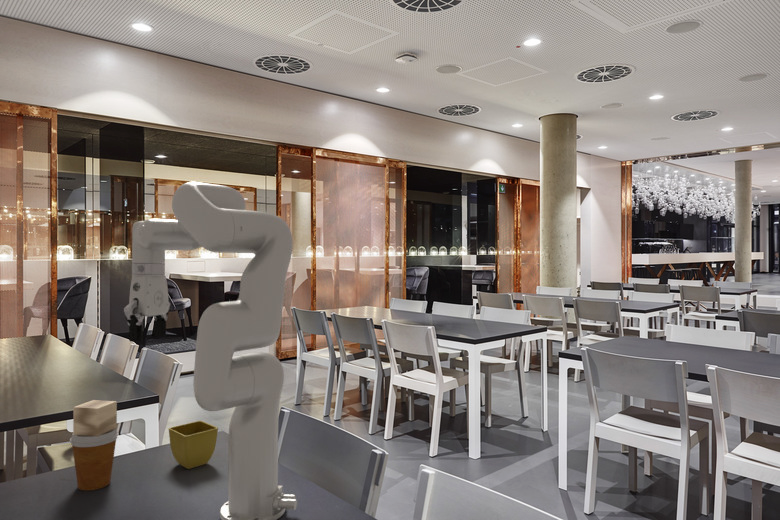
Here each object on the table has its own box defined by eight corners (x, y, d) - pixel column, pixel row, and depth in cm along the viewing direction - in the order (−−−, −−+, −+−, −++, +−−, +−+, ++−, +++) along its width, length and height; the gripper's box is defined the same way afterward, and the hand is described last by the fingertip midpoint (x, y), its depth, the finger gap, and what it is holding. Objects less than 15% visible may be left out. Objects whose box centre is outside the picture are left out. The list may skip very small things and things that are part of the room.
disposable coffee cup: (59, 488, 117) (60, 433, 117) (101, 473, 125) (101, 422, 125) (86, 497, 112) (87, 440, 112) (127, 481, 121) (128, 428, 121)
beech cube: (116, 427, 121) (116, 401, 121) (97, 436, 115) (97, 408, 115) (93, 426, 122) (93, 400, 122) (73, 434, 116) (73, 407, 116)
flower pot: (218, 463, 131) (219, 427, 131) (185, 474, 125) (185, 436, 125) (200, 455, 137) (200, 420, 137) (167, 464, 131) (167, 428, 131)
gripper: (140, 271, 125) (140, 344, 125) (181, 270, 142) (181, 334, 142) (111, 271, 126) (111, 343, 126) (155, 269, 143) (155, 333, 143)
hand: (148, 338), depth 134 cm, fingers open, 9 cm apart
